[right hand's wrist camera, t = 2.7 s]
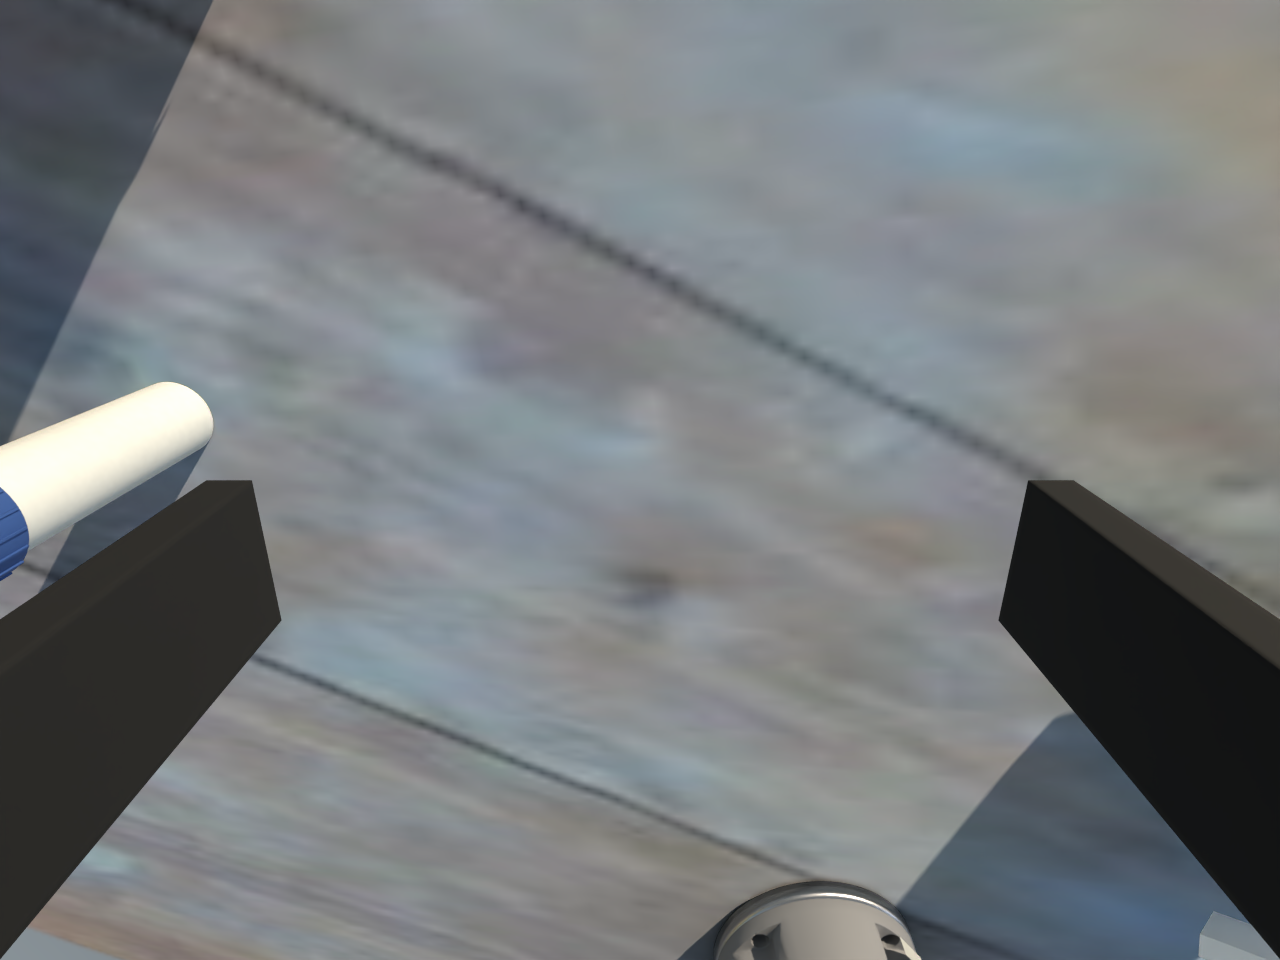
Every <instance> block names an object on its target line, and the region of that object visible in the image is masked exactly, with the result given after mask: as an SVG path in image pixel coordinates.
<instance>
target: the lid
mask: <svg viewBox="0 0 1280 960" xmlns="http://www.w3.org/2000/svg"><path fill="white" fill-rule="evenodd" d="M28 548H29V531H28V527H27V523H26V521H25V518H24V516H23V514H22V512H21V510H20V509H19V507H18V506H17V504H16V503H15V501H14V500H13V499H12V498H11V497H10V496H9V495H8V494H7V493H6V492H5V491H4V490H3V489H2V488H1V487H0V581H1V580H3V579H5V578H6V577H8V576H9V575H11V574H12V571H13V570H15V569H16V568H17V567H18V566H19V565H21V564H23V563H24V561H23V560H24V558H25V556H26V554H27V551H28Z"/></svg>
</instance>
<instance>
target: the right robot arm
mask: <svg viewBox="0 0 1280 960" xmlns="http://www.w3.org/2000/svg"><path fill="white" fill-rule="evenodd" d="M280 621H281V616H280V611H279V607H278V602H277V597H276V592H275V588H274V583H273V578H272V574H271V569H270V564H269V559H268V555H267V550H266V545H265V541H264V536H263V531H262V526H261V522H260V517H259V512H258V508H257V503H256V498H255V493H254V489H253V484H252V480H206V481H205V482H203V483H202V484H200V485H199V486H198V487H196V488H195V489H193V490H192V491H190V492H189V493H187V494H186V495H184V496H183V497H181V498H180V499H178V500H177V501H175V502H174V503H172V504H171V505H169V506H168V507H166V508H165V509H163V510H162V511H160V512H159V513H157V514H156V515H154V516H153V517H152V518H150V519H149V520H147V521H146V522H144V523H143V524H141V525H140V526H138V527H137V528H135V529H134V530H132V531H131V532H129V533H128V534H126V535H125V536H123V537H122V538H120V539H119V540H117V541H116V542H114V543H113V544H111V545H110V546H108V547H107V548H105V549H104V550H103V551H101V552H100V553H98V554H97V555H95V556H94V557H92V558H91V559H89V560H88V561H86V562H85V563H83V564H82V565H80V566H79V567H77V568H76V569H74V570H73V571H71V572H70V573H68V574H67V575H65V576H64V577H62V578H61V579H59V580H58V581H56V582H55V583H54V584H52V585H51V586H49V587H48V588H46V589H45V590H43V591H42V592H40V593H39V594H37V595H36V596H34V597H33V598H31V599H30V600H28V601H27V602H25V603H24V604H22V605H21V606H19V607H18V608H16V609H15V610H13V611H12V612H10V613H9V614H8V615H6V616H5V617H3V618H2V619H0V959H1V958H2V956H3V955H4V954H5V953H6V952H7V950H8V949H9V948H10V947H11V946H12V944H13V943H14V942H15V941H16V940H17V938H18V937H19V936H20V935H21V933H22V932H23V931H24V930H25V929H26V927H27V926H28V925H29V924H30V923H31V921H32V920H33V919H34V918H35V917H36V915H37V914H38V913H39V912H40V911H41V909H42V908H43V907H44V906H45V905H46V903H47V902H48V901H49V900H50V899H51V897H52V896H53V895H54V894H55V893H56V891H57V890H58V889H59V888H60V887H61V885H62V884H63V883H64V882H65V880H66V879H67V878H68V877H69V876H70V874H71V873H72V872H73V871H74V870H75V868H76V867H77V866H78V865H79V864H80V862H81V861H82V860H83V859H84V858H85V856H86V855H87V854H88V853H89V852H90V850H91V849H92V848H93V847H94V846H95V844H96V843H97V842H98V841H99V840H100V838H101V837H102V836H103V835H104V833H105V832H106V831H107V830H108V829H109V827H110V826H111V825H112V824H113V823H114V821H115V820H116V819H117V818H118V817H119V815H120V814H121V813H122V812H123V811H124V809H125V808H126V807H127V806H128V805H129V803H130V802H131V801H132V800H133V799H134V797H135V796H136V795H137V794H138V793H139V791H140V790H141V789H142V788H143V787H144V785H145V784H146V783H147V782H148V780H149V779H150V778H151V777H152V776H153V774H154V773H155V772H156V771H157V770H158V768H159V767H160V766H161V765H162V764H163V762H164V761H165V760H166V759H167V758H168V756H169V755H170V754H171V753H172V752H173V750H174V749H175V748H176V747H177V746H178V744H179V743H180V742H181V741H182V740H183V738H184V737H185V736H186V735H187V734H188V732H189V731H190V730H191V729H192V727H193V726H194V725H195V724H196V723H197V721H198V720H199V719H200V718H201V717H202V715H203V714H204V713H205V712H206V711H207V709H208V708H209V707H210V706H211V705H212V703H213V702H214V701H215V700H216V699H217V697H218V696H219V695H220V694H221V693H222V691H223V690H224V689H225V688H226V687H227V685H228V684H229V683H230V682H231V681H232V679H233V678H234V677H235V676H236V674H237V673H238V672H239V671H240V670H241V668H242V667H243V666H244V665H245V664H246V662H247V661H248V660H249V659H250V658H251V656H252V655H253V654H254V653H255V652H256V650H257V649H258V648H259V647H260V646H261V644H262V643H263V642H264V641H265V640H266V638H267V637H268V636H269V635H270V634H271V632H272V631H273V630H274V629H275V628H276V626H277V625H278V624H279V623H280ZM999 621H1000V623H1001V624H1002V625H1003V626H1004V628H1005V629H1006V630H1007V631H1008V632H1009V634H1010V635H1011V636H1012V637H1013V638H1014V640H1015V641H1016V642H1017V643H1018V644H1019V646H1020V647H1021V648H1022V649H1023V650H1024V652H1025V653H1026V654H1027V655H1028V656H1029V658H1030V659H1031V660H1032V661H1033V662H1034V664H1035V665H1036V666H1037V667H1038V668H1039V670H1040V671H1041V672H1042V673H1043V674H1044V676H1045V677H1046V678H1047V679H1048V681H1049V682H1050V683H1051V684H1052V685H1053V687H1054V688H1055V689H1056V690H1057V691H1058V693H1059V694H1060V695H1061V696H1062V697H1063V699H1064V700H1065V701H1066V702H1067V703H1068V705H1069V706H1070V707H1071V708H1072V709H1073V711H1074V712H1075V713H1076V714H1077V715H1078V717H1079V718H1080V719H1081V720H1082V721H1083V723H1084V724H1085V725H1086V726H1087V727H1088V729H1089V730H1090V731H1091V732H1092V734H1093V735H1094V736H1095V737H1096V738H1097V740H1098V741H1099V742H1100V743H1101V744H1102V746H1103V747H1104V748H1105V749H1106V750H1107V752H1108V753H1109V754H1110V755H1111V756H1112V758H1113V759H1114V760H1115V761H1116V762H1117V764H1118V765H1119V766H1120V767H1121V768H1122V770H1123V771H1124V772H1125V773H1126V774H1127V776H1128V777H1129V778H1130V779H1131V780H1132V782H1133V783H1134V784H1135V785H1136V787H1137V788H1138V789H1139V790H1140V791H1141V793H1142V794H1143V795H1144V796H1145V797H1146V799H1147V800H1148V801H1149V802H1150V803H1151V805H1152V806H1153V807H1154V808H1155V809H1156V811H1157V812H1158V813H1159V814H1160V815H1161V817H1162V818H1163V819H1164V820H1165V821H1166V823H1167V824H1168V825H1169V826H1170V827H1171V829H1172V830H1173V831H1174V832H1175V833H1176V835H1177V836H1178V837H1179V838H1180V840H1181V841H1182V842H1183V843H1184V844H1185V846H1186V847H1187V848H1188V849H1189V850H1190V852H1191V853H1192V854H1193V855H1194V856H1195V858H1196V859H1197V860H1198V861H1199V862H1200V864H1201V865H1202V866H1203V867H1204V868H1205V870H1206V871H1207V872H1208V873H1209V874H1210V876H1211V877H1212V878H1213V879H1214V880H1215V882H1216V883H1217V884H1218V885H1219V887H1220V888H1221V889H1222V890H1223V891H1224V893H1225V894H1226V895H1227V896H1228V897H1229V899H1230V900H1231V901H1232V902H1233V903H1234V905H1235V906H1236V907H1237V908H1238V909H1239V911H1240V912H1241V913H1242V914H1243V915H1244V917H1245V918H1246V919H1247V920H1248V921H1249V923H1250V924H1251V925H1252V926H1253V927H1254V929H1255V930H1256V931H1257V932H1258V933H1259V935H1260V936H1261V937H1262V938H1263V940H1264V941H1265V942H1266V943H1267V944H1268V946H1269V947H1270V948H1271V949H1272V950H1273V952H1274V953H1275V954H1276V955H1277V956H1278V958H1279V959H1280V619H1278V618H1277V617H1275V616H1274V615H1272V614H1271V613H1270V612H1268V611H1267V610H1265V609H1264V608H1262V607H1261V606H1259V605H1258V604H1256V603H1255V602H1253V601H1252V600H1250V599H1249V598H1247V597H1246V596H1244V595H1243V594H1241V593H1240V592H1238V591H1237V590H1235V589H1234V588H1232V587H1231V586H1229V585H1228V584H1226V583H1225V582H1224V581H1222V580H1221V579H1219V578H1218V577H1216V576H1215V575H1213V574H1212V573H1210V572H1209V571H1207V570H1206V569H1204V568H1203V567H1201V566H1200V565H1198V564H1197V563H1195V562H1194V561H1192V560H1191V559H1189V558H1188V557H1186V556H1185V555H1183V554H1182V553H1180V552H1179V551H1177V550H1176V549H1175V548H1173V547H1172V546H1170V545H1169V544H1167V543H1166V542H1164V541H1163V540H1161V539H1160V538H1158V537H1157V536H1155V535H1154V534H1152V533H1151V532H1149V531H1148V530H1146V529H1145V528H1143V527H1142V526H1140V525H1139V524H1137V523H1136V522H1134V521H1133V520H1131V519H1130V518H1128V517H1127V516H1126V515H1124V514H1123V513H1121V512H1120V511H1118V510H1117V509H1115V508H1114V507H1112V506H1111V505H1109V504H1108V503H1106V502H1105V501H1103V500H1102V499H1100V498H1099V497H1097V496H1096V495H1094V494H1093V493H1091V492H1090V491H1088V490H1087V489H1085V488H1084V487H1082V486H1081V485H1080V484H1078V483H1077V482H1075V481H1074V480H1028V484H1027V489H1026V493H1025V498H1024V503H1023V508H1022V512H1021V517H1020V522H1019V526H1018V531H1017V536H1016V541H1015V545H1014V550H1013V555H1012V559H1011V564H1010V569H1009V574H1008V578H1007V583H1006V588H1005V592H1004V597H1003V602H1002V606H1001V611H1000V616H999ZM714 960H921V958H920V956H919V955H918V954H917V953H916V948H915V945H914V942H913V939H912V936H911V934H910V931H909V928H908V925H907V923H906V921H905V919H904V918H903V916H902V915H901V913H900V912H899V911H898V910H897V909H896V908H895V907H894V906H893V905H892V904H891V903H890V902H888V901H887V900H886V899H884V898H883V897H881V896H879V895H877V894H876V893H873V892H871V891H869V890H867V889H864V888H861V887H858V886H854V885H850V884H845V883H839V882H827V881H814V882H803V883H796V884H791V885H787V886H783V887H779V888H776V889H773V890H770V891H768V892H766V893H763V894H761V895H759V896H757V897H755V898H753V899H752V900H750V901H748V902H747V903H745V904H744V905H743V906H741V907H740V908H739V909H738V910H736V911H735V912H734V913H733V914H732V915H731V916H730V917H729V919H728V920H727V921H726V922H725V924H724V925H723V926H722V928H721V930H720V932H719V934H718V936H717V939H716V942H715V946H714Z"/></svg>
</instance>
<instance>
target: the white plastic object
mask: <svg viewBox="0 0 1280 960" xmlns="http://www.w3.org/2000/svg"><path fill="white" fill-rule="evenodd" d="M1199 957H1202V958H1204V959H1207V960H1280V959H1279V958H1278V956H1277V955H1276V954H1275V953H1274V952H1273V950H1272V949H1271V948H1270V947H1269V946H1268V944H1267V943H1266V942H1265V941H1264V940H1263V938H1262V937H1261V936H1260V935H1259V933H1258V932H1257V931H1256V930H1255V929H1254V927H1253V926H1252V925H1251V924H1249V923H1246V922H1243V921H1240V920H1237V919H1235V918H1232V917H1229V916H1226V915H1223V914H1220V913H1218V912H1215V911H1213V913H1212V914H1211V916H1210V918H1209V919H1208V921H1207V923H1206V924H1205V926H1204V928H1203V929H1202V931H1201V933H1200V940H1199Z"/></svg>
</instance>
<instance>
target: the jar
mask: <svg viewBox="0 0 1280 960" xmlns="http://www.w3.org/2000/svg"><path fill="white" fill-rule="evenodd" d="M212 432H213V418H212V414H211V412H210V410H209V408H208V406H207V404H206V403H205V401H204V400H203V399H202V398H201V397H200V396H199V395H198V394H197V393H195V392H194V391H193V390H191V389H189V388H188V387H186V386H183V385H181V384H177V383H172V382H161V383H157V384H153V385H151V386H148V387H146V388H144V389H141V390H139V391H136V392H134V393H131V394H129V395H126V396H124V397H121V398H119V399H116V400H114V401H111V402H109V403H106V404H104V405H101V406H99V407H96V408H94V409H91V410H89V411H86V412H84V413H81V414H79V415H77V416H74V417H72V418H69V419H67V420H64V421H62V422H59V423H57V424H54V425H52V426H49V427H47V428H44V429H42V430H39V431H37V432H34V433H32V434H29V435H27V436H24V437H22V438H19V439H17V440H14V441H12V442H10V443H7V444H5V445H2V446H0V487H1V488H2V489H3V490H4V491H5V492H6V493H7V494H8V495H9V496H10V497H11V498H12V499H13V500H14V501H15V503H16V504H17V506H18V507H19V509H20V510H21V512H22V514H23V516H24V518H25V521H26V523H27V527H28V531H29V548H28V551H29V550H31V549H32V548H34V547H36V546H37V545H39V544H41V543H42V542H44V541H46V540H48V539H49V538H51V537H53V536H54V535H56V534H58V533H59V532H61V531H63V530H64V529H66V528H68V527H69V526H71V525H73V524H75V523H76V522H78V521H80V520H81V519H83V518H85V517H86V516H88V515H90V514H91V513H93V512H95V511H96V510H98V509H100V508H102V507H103V506H105V505H107V504H108V503H110V502H112V501H113V500H115V499H117V498H118V497H120V496H122V495H123V494H125V493H127V492H129V491H130V490H132V489H134V488H135V487H137V486H139V485H140V484H142V483H144V482H145V481H147V480H149V479H150V478H152V477H154V476H156V475H157V474H159V473H161V472H162V471H164V470H166V469H167V468H169V467H171V466H172V465H174V464H176V463H177V462H179V461H181V460H183V459H184V458H186V457H188V456H189V455H191V454H193V453H194V452H196V451H198V450H199V449H201V448H202V447H204V446H205V445H206V444H207V443H208V441H209V440H210V438H211V435H212Z"/></svg>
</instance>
